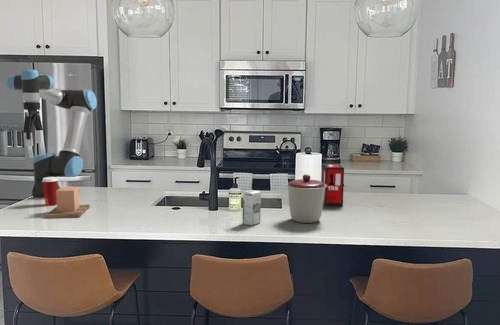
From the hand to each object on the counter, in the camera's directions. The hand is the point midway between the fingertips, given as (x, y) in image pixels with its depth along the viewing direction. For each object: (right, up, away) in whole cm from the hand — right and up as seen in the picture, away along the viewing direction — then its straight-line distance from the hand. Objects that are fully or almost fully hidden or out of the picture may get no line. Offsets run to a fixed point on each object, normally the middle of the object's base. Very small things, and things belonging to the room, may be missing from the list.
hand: (34, 144), depth 229 cm
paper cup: (+5, -31, +8) cm, 32 cm away
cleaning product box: (+151, -31, +15) cm, 155 cm away
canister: (+133, -35, -21) cm, 139 cm away
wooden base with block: (+20, -33, -8) cm, 40 cm away
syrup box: (+108, -36, -27) cm, 117 cm away
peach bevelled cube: (+20, -32, -8) cm, 38 cm away
